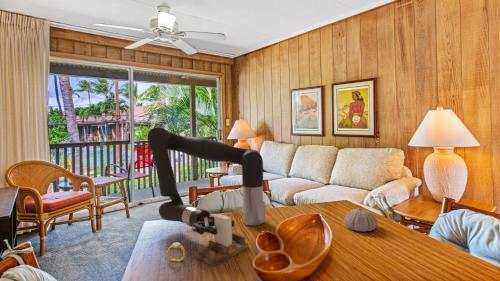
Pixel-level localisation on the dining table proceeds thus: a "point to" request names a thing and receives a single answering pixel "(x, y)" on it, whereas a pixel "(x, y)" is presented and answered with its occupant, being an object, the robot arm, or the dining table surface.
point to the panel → (223, 230)
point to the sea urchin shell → (360, 220)
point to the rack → (221, 250)
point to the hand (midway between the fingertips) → (225, 227)
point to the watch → (176, 245)
